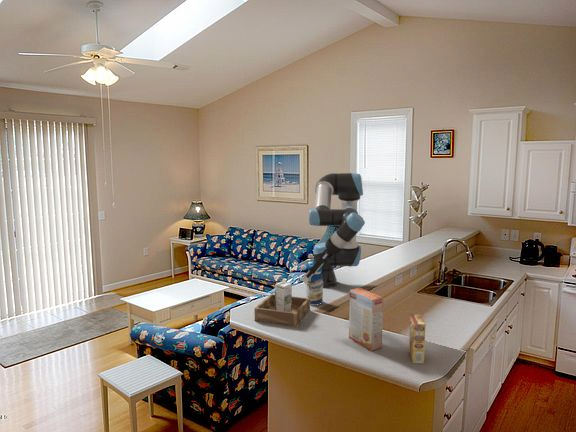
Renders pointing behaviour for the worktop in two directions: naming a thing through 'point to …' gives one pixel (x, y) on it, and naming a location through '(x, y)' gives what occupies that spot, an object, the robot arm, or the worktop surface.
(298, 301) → the crate
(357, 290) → the cracker box
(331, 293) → the worktop surface
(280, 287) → the syrup box
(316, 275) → the beverage bottle
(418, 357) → the candy box
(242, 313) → the worktop surface
